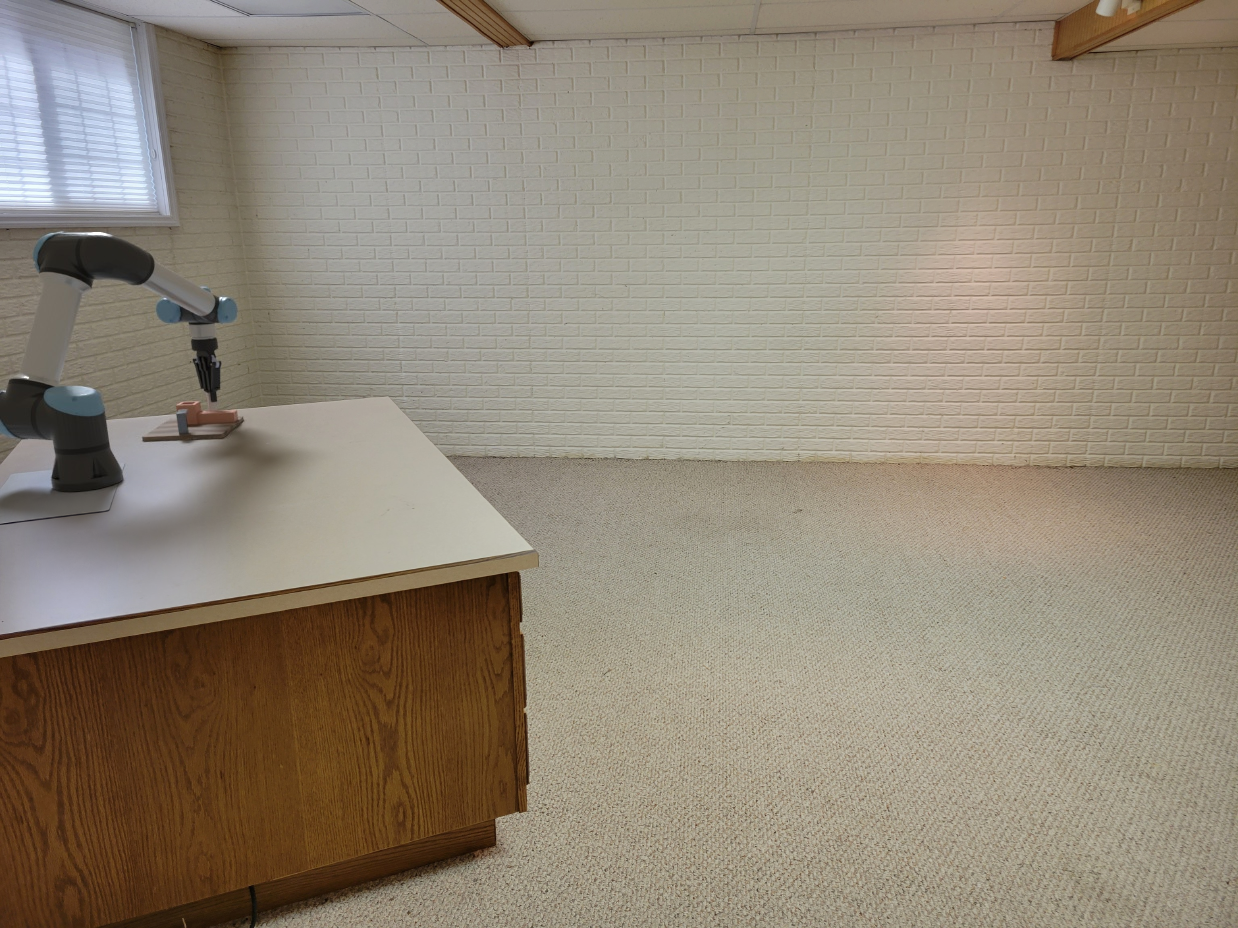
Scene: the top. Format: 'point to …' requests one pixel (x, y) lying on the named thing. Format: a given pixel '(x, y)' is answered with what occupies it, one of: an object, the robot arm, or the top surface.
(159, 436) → the board
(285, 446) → the top surface
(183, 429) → the bracket
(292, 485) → the top surface
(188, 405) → the link
